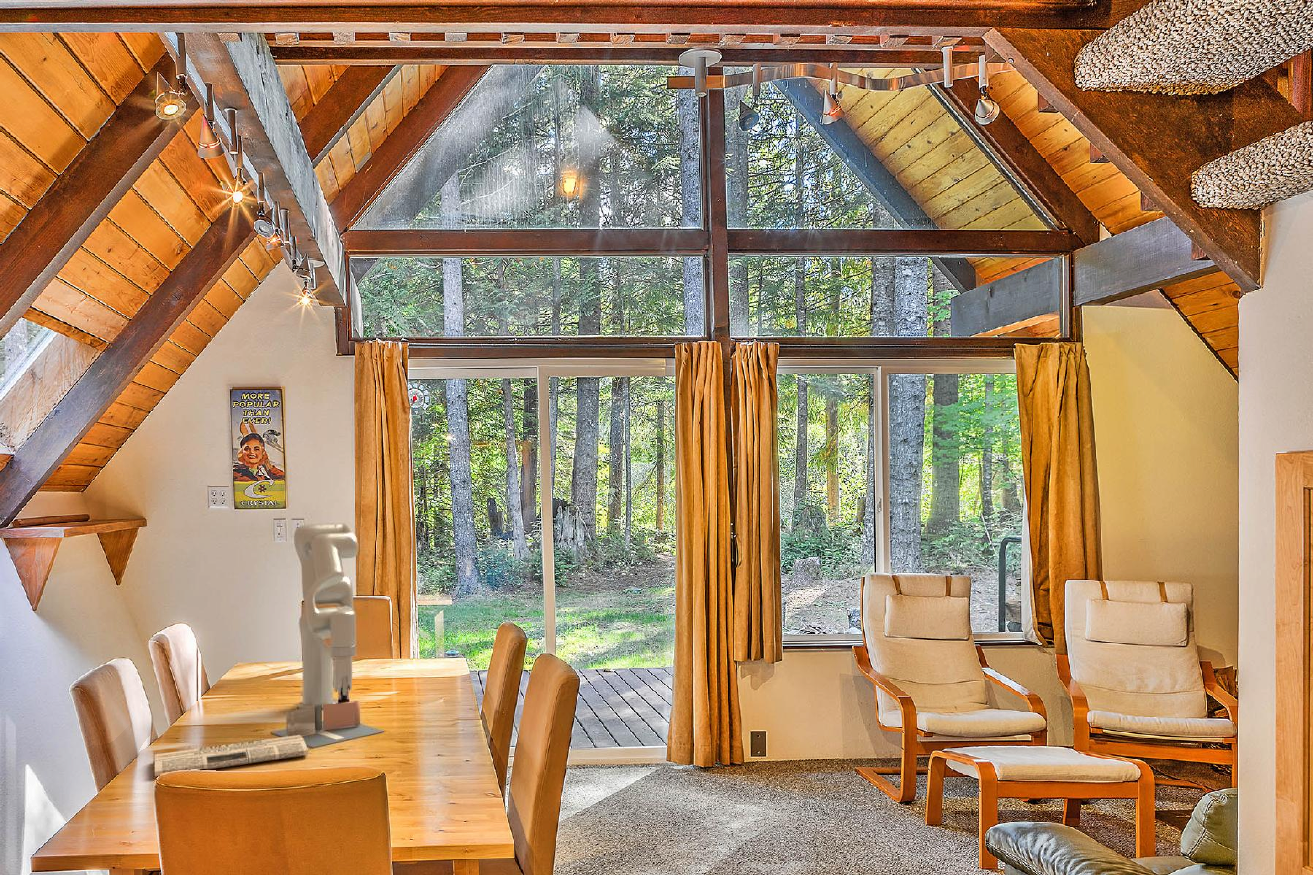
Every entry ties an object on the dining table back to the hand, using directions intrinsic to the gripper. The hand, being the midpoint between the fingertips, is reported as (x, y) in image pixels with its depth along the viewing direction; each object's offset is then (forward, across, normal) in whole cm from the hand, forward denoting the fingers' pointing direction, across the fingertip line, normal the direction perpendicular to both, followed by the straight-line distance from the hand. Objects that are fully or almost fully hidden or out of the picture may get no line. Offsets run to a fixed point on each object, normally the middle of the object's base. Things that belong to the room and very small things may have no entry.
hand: (343, 712), depth 303 cm
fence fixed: (+4, +6, -13) cm, 15 cm away
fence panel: (+3, +3, -2) cm, 5 cm away
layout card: (+4, +5, -6) cm, 9 cm away
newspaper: (+4, +23, -31) cm, 39 cm away
